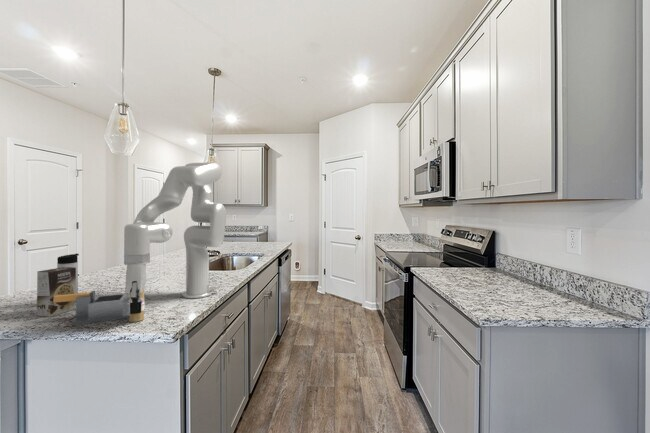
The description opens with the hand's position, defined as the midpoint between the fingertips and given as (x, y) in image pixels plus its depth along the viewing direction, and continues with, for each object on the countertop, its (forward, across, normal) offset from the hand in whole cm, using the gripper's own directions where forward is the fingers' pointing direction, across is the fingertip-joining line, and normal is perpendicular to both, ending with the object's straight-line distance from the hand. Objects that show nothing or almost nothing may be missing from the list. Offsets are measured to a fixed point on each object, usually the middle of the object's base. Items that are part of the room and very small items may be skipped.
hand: (136, 310), depth 102 cm
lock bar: (-3, -10, -20) cm, 22 cm away
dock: (+3, -10, -10) cm, 15 cm away
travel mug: (+4, -31, -28) cm, 42 cm away
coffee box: (+4, -20, -28) cm, 35 cm away
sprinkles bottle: (+4, 0, 0) cm, 4 cm away
